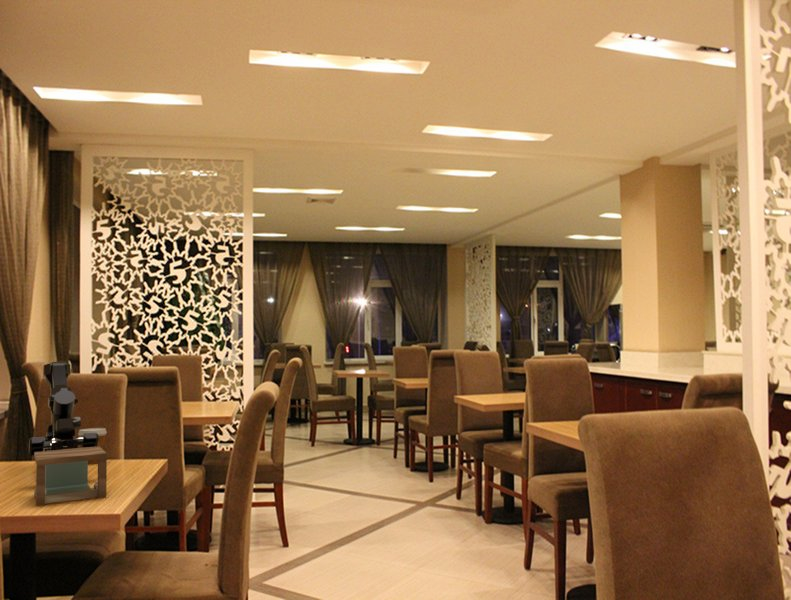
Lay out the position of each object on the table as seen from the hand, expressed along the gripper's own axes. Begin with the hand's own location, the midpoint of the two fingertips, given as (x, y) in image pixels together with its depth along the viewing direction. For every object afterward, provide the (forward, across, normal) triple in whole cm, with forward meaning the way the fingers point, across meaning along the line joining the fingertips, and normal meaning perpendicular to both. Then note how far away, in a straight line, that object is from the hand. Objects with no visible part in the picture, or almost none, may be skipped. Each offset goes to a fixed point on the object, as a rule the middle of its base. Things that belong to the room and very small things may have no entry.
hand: (65, 466), depth 198 cm
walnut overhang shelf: (+14, 0, -6) cm, 16 cm away
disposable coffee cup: (-24, +12, +34) cm, 43 cm away
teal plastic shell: (+12, 0, -4) cm, 13 cm away
